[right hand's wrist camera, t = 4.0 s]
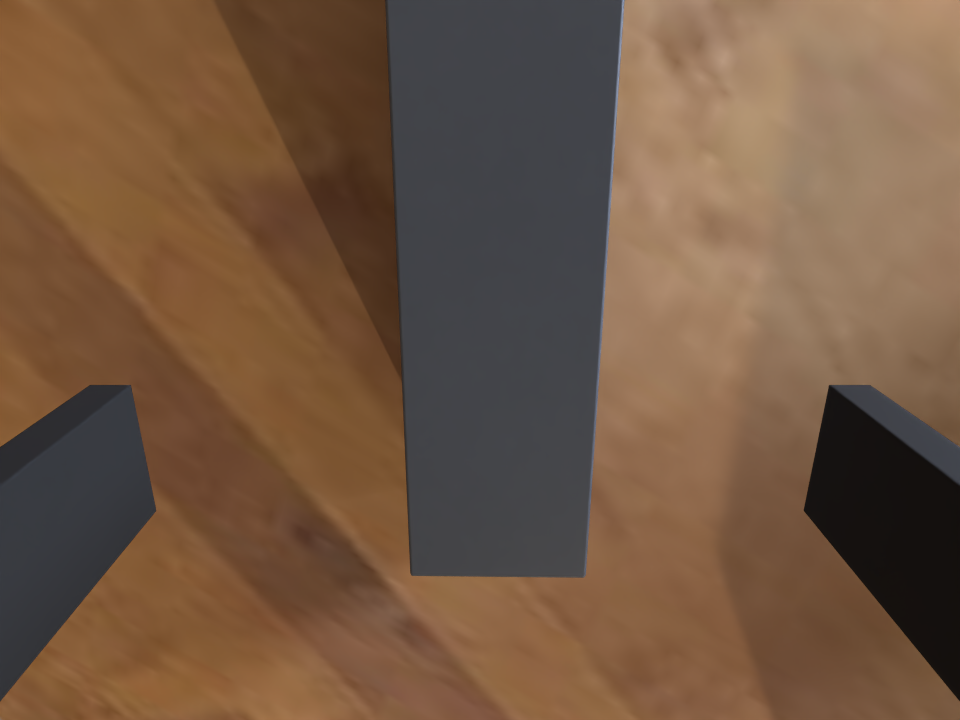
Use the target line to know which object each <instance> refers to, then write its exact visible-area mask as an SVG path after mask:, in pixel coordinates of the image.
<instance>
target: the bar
mask: <svg viewBox="0 0 960 720" xmlns="http://www.w3.org/2000/svg"><path fill="white" fill-rule="evenodd" d="M385 6H386V29H387V52H388V74H389V97H390V120H391V143H392V165H393V188H394V211H395V233H396V256H397V279H398V301H399V324H400V347H401V370H402V392H403V415H404V438H405V460H406V483H407V506H408V529H409V551H410V573H411V575H412V576H481V577H577V578H583V577H585V575H586V563H587V548H588V533H589V518H590V503H591V488H592V473H593V459H594V444H595V429H596V414H597V399H598V384H599V370H600V355H601V340H602V325H603V310H604V295H605V280H606V266H607V251H608V236H609V221H610V206H611V191H612V177H613V162H614V147H615V132H616V117H617V102H618V87H619V73H620V58H621V43H622V28H623V13H624V0H385Z"/></svg>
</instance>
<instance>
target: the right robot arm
mask: <svg viewBox="0 0 960 720" xmlns="http://www.w3.org/2000/svg"><path fill="white" fill-rule="evenodd" d="M155 512H156V507H155V502H154V497H153V492H152V487H151V482H150V477H149V472H148V468H147V463H146V458H145V453H144V448H143V443H142V438H141V433H140V428H139V423H138V418H137V413H136V408H135V404H134V399H133V394H132V389H131V385H89V386H88V387H87V388H85V389H84V390H82V391H81V392H79V393H78V394H76V395H75V396H74V397H72V398H71V399H69V400H68V401H66V402H65V403H63V404H62V405H61V406H59V407H58V408H56V409H55V410H53V411H52V412H50V413H49V414H48V415H46V416H45V417H43V418H42V419H40V420H39V421H37V422H36V423H35V424H33V425H32V426H30V427H29V428H27V429H26V430H24V431H23V432H22V433H20V434H19V435H17V436H16V437H14V438H13V439H11V440H10V441H9V442H7V443H6V444H4V445H3V446H1V447H0V701H1V700H2V698H3V697H4V696H5V695H6V694H7V692H8V691H9V690H10V689H11V687H12V686H13V685H14V684H15V683H16V681H17V680H18V679H19V678H20V676H21V675H22V674H23V673H24V672H25V670H26V669H27V668H28V667H29V665H30V664H31V663H32V662H33V661H34V659H35V658H36V657H37V656H38V654H39V653H40V652H41V651H42V650H43V648H44V647H45V646H46V645H47V643H48V642H49V641H50V640H51V639H52V637H53V636H54V635H55V634H56V633H57V631H58V630H59V629H60V628H61V626H62V625H63V624H64V623H65V622H66V620H67V619H68V618H69V617H70V615H71V614H72V613H73V612H74V611H75V609H76V608H77V607H78V606H79V604H80V603H81V602H82V601H83V600H84V598H85V597H86V596H87V595H88V593H89V592H90V591H91V590H92V589H93V587H94V586H95V585H96V584H97V582H98V581H99V580H100V579H101V578H102V576H103V575H104V574H105V573H106V571H107V570H108V569H109V568H110V567H111V565H112V564H113V563H114V562H115V560H116V559H117V558H118V557H119V556H120V554H121V553H122V552H123V551H124V549H125V548H126V547H127V546H128V545H129V543H130V542H131V541H132V540H133V538H134V537H135V536H136V535H137V534H138V532H139V531H140V530H141V529H142V527H143V526H144V525H145V524H146V523H147V521H148V520H149V519H150V518H151V516H152V515H153V514H154V513H155ZM804 512H805V513H806V514H807V515H808V516H809V518H810V519H811V520H812V521H813V523H814V524H815V525H816V526H817V527H818V529H819V530H820V531H821V532H822V534H823V535H824V536H825V537H826V538H827V540H828V541H829V542H830V543H831V545H832V546H833V547H834V548H835V549H836V551H837V552H838V553H839V554H840V556H841V557H842V558H843V559H844V560H845V562H846V563H847V564H848V565H849V567H850V568H851V569H852V570H853V571H854V573H855V574H856V575H857V576H858V578H859V579H860V580H861V581H862V582H863V584H864V585H865V586H866V587H867V589H868V590H869V591H870V592H871V593H872V595H873V596H874V597H875V598H876V600H877V601H878V602H879V603H880V604H881V606H882V607H883V608H884V609H885V611H886V612H887V613H888V614H889V615H890V617H891V618H892V619H893V620H894V622H895V623H896V624H897V625H898V626H899V628H900V629H901V630H902V631H903V633H904V634H905V635H906V636H907V637H908V639H909V640H910V641H911V642H912V644H913V645H914V646H915V647H916V648H917V650H918V651H919V652H920V653H921V654H922V656H923V657H924V658H925V659H926V661H927V662H928V663H929V664H930V665H931V667H932V668H933V669H934V670H935V672H936V673H937V674H938V675H939V676H940V678H941V679H942V680H943V681H944V683H945V684H946V685H947V686H948V687H949V689H950V690H951V691H952V692H953V694H954V695H955V696H956V697H957V698H958V700H959V701H960V447H959V446H957V445H956V444H954V443H953V442H951V441H950V440H949V439H947V438H946V437H944V436H943V435H941V434H940V433H938V432H937V431H936V430H934V429H933V428H931V427H930V426H928V425H927V424H925V423H924V422H923V421H921V420H920V419H918V418H917V417H915V416H914V415H912V414H911V413H910V412H908V411H907V410H905V409H904V408H902V407H901V406H899V405H898V404H897V403H895V402H894V401H892V400H891V399H889V398H888V397H886V396H885V395H884V394H882V393H881V392H879V391H878V390H876V389H875V388H873V387H872V386H871V385H829V389H828V394H827V399H826V404H825V408H824V413H823V418H822V423H821V428H820V433H819V438H818V443H817V448H816V453H815V458H814V463H813V468H812V472H811V477H810V482H809V487H808V492H807V497H806V502H805V507H804Z"/></svg>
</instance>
